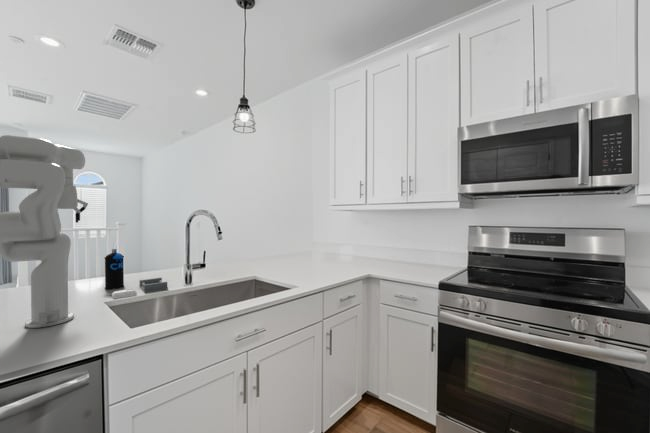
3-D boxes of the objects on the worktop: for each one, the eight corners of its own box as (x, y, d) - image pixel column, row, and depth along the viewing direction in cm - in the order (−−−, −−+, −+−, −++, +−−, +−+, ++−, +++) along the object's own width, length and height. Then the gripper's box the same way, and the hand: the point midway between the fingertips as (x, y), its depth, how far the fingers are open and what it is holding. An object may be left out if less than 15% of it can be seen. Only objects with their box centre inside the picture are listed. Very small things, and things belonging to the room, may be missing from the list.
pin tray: (167, 289, 147) (167, 282, 147) (144, 292, 140) (144, 285, 140) (160, 283, 159) (160, 277, 159) (139, 286, 152) (139, 279, 152)
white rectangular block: (111, 297, 135) (111, 291, 134) (134, 293, 140) (134, 288, 140) (113, 299, 131) (112, 293, 131) (136, 295, 137) (136, 290, 137)
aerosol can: (100, 289, 148) (100, 249, 147) (116, 285, 155) (116, 247, 155) (112, 290, 145) (112, 250, 145) (128, 286, 153) (127, 248, 153)
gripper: (31, 179, 114) (32, 223, 114) (88, 182, 126) (88, 222, 126) (32, 181, 119) (33, 223, 120) (87, 184, 131) (87, 222, 131)
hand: (61, 222), depth 123 cm, fingers open, 9 cm apart
